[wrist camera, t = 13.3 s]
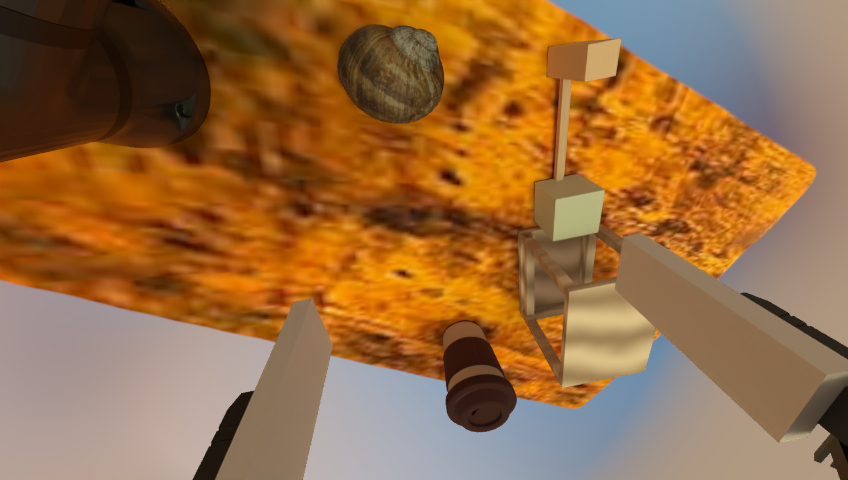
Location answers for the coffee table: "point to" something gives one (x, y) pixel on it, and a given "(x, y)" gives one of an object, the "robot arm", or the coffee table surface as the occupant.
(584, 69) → the tethered block
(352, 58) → the seashell
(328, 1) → the coffee table surface
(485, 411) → the coffee cup
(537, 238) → the frame
